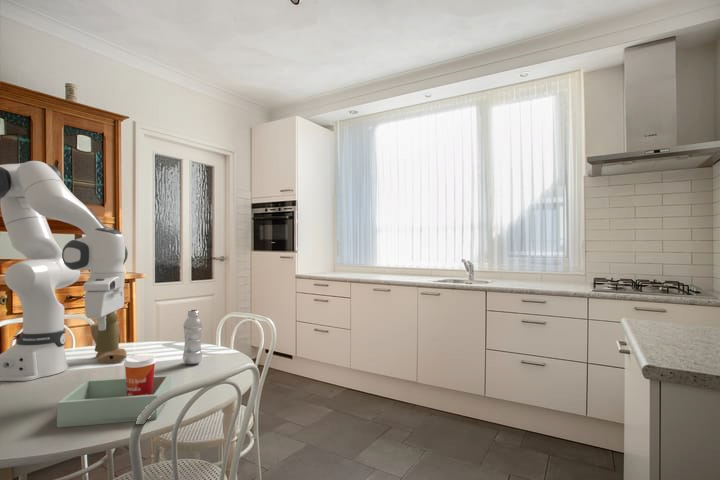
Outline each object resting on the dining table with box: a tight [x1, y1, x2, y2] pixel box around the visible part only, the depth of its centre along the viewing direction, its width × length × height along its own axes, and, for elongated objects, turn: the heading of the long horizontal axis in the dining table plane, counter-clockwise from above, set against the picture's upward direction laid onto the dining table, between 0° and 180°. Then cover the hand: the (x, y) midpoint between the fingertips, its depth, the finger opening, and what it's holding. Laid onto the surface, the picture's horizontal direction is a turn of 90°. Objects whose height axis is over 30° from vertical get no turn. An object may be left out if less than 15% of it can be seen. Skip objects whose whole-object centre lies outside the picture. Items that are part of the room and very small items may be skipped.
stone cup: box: [90, 319, 128, 364], centre depth 148 cm, size 15×12×15 cm
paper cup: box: [123, 353, 157, 396], centre depth 105 cm, size 8×8×14 cm
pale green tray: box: [56, 374, 172, 428], centre depth 104 cm, size 22×16×6 cm
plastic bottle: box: [182, 309, 203, 365], centre depth 144 cm, size 6×7×20 cm
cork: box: [94, 312, 119, 353], centre depth 115 cm, size 6×6×11 cm
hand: (106, 328), depth 115 cm, fingers closed on cork, 4 cm apart
